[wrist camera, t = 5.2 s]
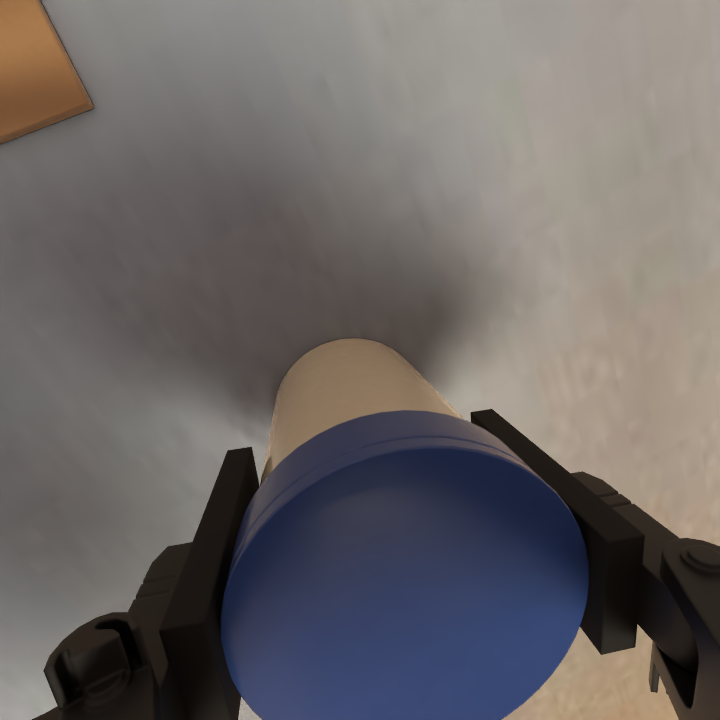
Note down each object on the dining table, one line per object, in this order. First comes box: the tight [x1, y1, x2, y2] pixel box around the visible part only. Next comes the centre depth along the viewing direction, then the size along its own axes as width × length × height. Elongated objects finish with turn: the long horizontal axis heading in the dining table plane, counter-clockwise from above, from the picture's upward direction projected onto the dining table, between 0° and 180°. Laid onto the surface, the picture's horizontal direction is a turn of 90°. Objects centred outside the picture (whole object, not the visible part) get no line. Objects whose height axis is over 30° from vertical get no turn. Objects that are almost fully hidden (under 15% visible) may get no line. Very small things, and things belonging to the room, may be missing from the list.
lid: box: [220, 410, 589, 720], centre depth 9 cm, size 7×7×2 cm
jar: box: [260, 338, 464, 486], centre depth 14 cm, size 7×7×10 cm
